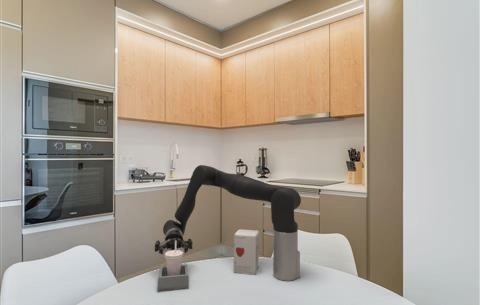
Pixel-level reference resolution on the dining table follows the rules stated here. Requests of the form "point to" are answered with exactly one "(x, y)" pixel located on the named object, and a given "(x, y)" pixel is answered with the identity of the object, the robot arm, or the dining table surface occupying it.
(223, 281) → the dining table surface
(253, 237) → the supplement box
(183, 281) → the box
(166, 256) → the smoothie
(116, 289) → the dining table surface
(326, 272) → the dining table surface
